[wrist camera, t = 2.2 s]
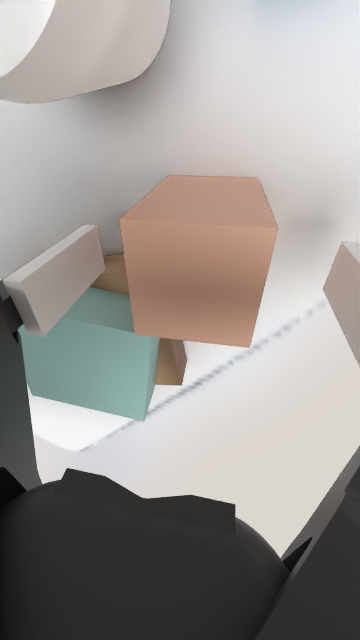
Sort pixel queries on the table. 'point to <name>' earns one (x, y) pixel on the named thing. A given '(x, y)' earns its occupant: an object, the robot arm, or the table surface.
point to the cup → (76, 45)
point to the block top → (94, 357)
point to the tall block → (199, 258)
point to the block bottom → (169, 349)
